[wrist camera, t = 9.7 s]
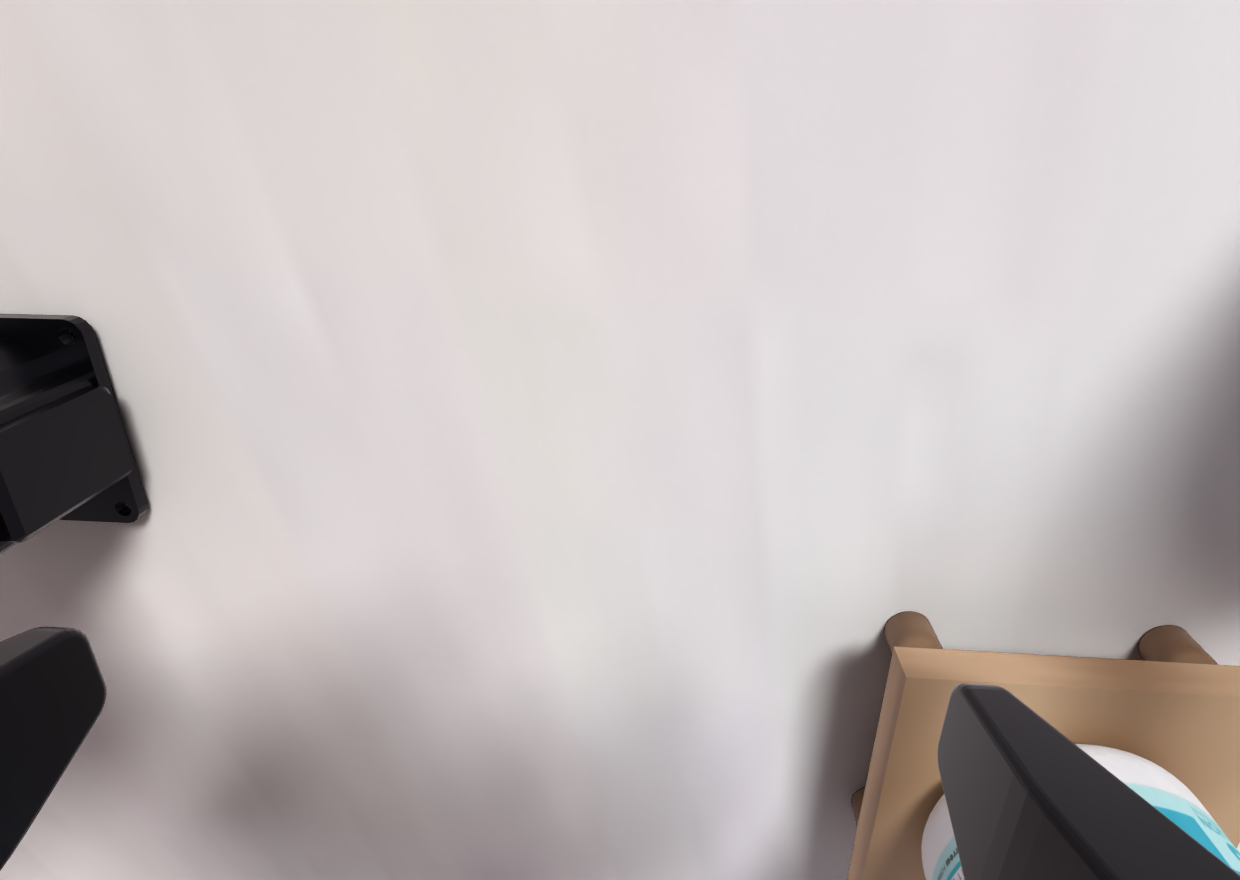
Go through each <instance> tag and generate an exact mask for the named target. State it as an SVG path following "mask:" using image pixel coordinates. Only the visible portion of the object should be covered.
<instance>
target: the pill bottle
mask: <svg viewBox="0 0 1240 880" xmlns="http://www.w3.org/2000/svg"><path fill="white" fill-rule="evenodd" d="M1076 745H1077V746H1078V747H1079V748H1081V749H1082V750H1083V751H1084V752H1086V753H1087V754H1088V755H1089V756H1091V757H1092V758H1093V759H1094V760H1096V761H1097V762H1098V763H1099V764H1101V765H1102V766H1103V767H1104V768H1106V769H1107V770H1108V771H1109V772H1111V773H1112V774H1113V775H1114V776H1116V777H1117V778H1118V779H1119V780H1121V781H1122V782H1123V783H1125V784H1126V785H1127V786H1128V787H1130V788H1131V789H1132V790H1133V791H1135V792H1136V793H1137V794H1138V795H1140V796H1141V797H1142V798H1143V799H1145V800H1146V801H1147V802H1148V803H1150V804H1151V805H1152V806H1153V807H1155V808H1156V809H1157V810H1158V811H1160V812H1161V813H1162V814H1163V815H1165V816H1166V817H1167V818H1168V819H1170V820H1171V821H1172V822H1174V823H1175V824H1176V825H1177V826H1179V827H1180V828H1181V829H1182V830H1184V831H1185V832H1186V833H1187V834H1189V835H1190V836H1191V837H1192V838H1194V839H1195V840H1196V841H1197V842H1199V843H1200V844H1201V845H1202V846H1204V847H1205V848H1206V849H1207V850H1209V851H1210V852H1211V853H1212V854H1214V855H1215V856H1216V857H1217V858H1219V859H1220V860H1221V861H1223V862H1224V863H1225V864H1226V865H1228V866H1229V867H1230V868H1231V869H1233V870H1234V871H1235V872H1236V873H1238V874H1239V875H1240V853H1239V851H1238V850H1237V849H1236V847H1235V846H1234V845H1233V844H1232V842H1231V841H1230V840H1229V838H1228V837H1227V836H1226V834H1225V833H1224V832H1223V831H1222V829H1221V828H1220V827H1219V825H1218V824H1217V823H1216V822H1215V820H1214V819H1213V818H1212V816H1211V815H1210V814H1209V812H1208V811H1207V810H1206V809H1205V807H1204V806H1203V805H1202V804H1201V802H1200V801H1199V800H1198V799H1197V797H1196V796H1195V795H1194V794H1193V793H1192V792H1191V791H1190V790H1189V789H1188V788H1187V787H1186V786H1185V785H1184V784H1183V783H1182V782H1181V781H1179V780H1178V779H1177V778H1176V777H1175V776H1173V775H1172V774H1171V773H1169V772H1168V771H1166V770H1165V769H1163V768H1162V767H1160V766H1158V765H1156V764H1155V763H1153V762H1151V761H1149V760H1147V759H1144V758H1142V757H1140V756H1137V755H1135V754H1133V753H1129V752H1126V751H1122V750H1119V749H1115V748H1110V747H1105V746H1099V745H1090V744H1076ZM921 851H922V864H923V869H924V874H925V878H926V880H964V875H963V871H962V867H961V863H960V858H959V854H958V850H957V845H956V841H955V837H954V833H953V828H952V824H951V820H950V816H949V811H948V807H947V803H946V799H945V794H943V796H942V797H941V798H940V799H939V801H938V802H937V804H936V805H935V807H934V808H933V810H932V812H931V813H930V815H929V818H928V820H927V823H926V825H925V828H924V832H923V836H922V845H921Z"/></svg>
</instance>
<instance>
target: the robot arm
mask: <svg viewBox="0 0 1240 880" xmlns="http://www.w3.org/2000/svg"><path fill="white" fill-rule="evenodd" d="M69 330H71V331H72V332H73V333H74V335H75V337H76V340H75V339H74V338H72V336H71V334H70V333H69ZM125 503H126V504H127V505H129V507H130V508H131V509H130V508H129V507H127V506H126V504H125ZM147 509H148V507H147V501H146V498H145V495H144V491H143V488H142V485H141V482H140V478H139V475H138V472H137V469H136V465H135V462H134V459H133V456H132V453H131V449H130V446H129V443H128V440H127V436H126V433H125V430H124V427H123V423H122V420H121V417H120V414H119V410H118V407H117V404H116V401H115V398H114V394H113V391H112V388H111V385H110V381H109V378H108V375H107V372H106V368H105V365H104V362H103V359H102V355H101V352H100V349H99V346H98V343H97V339H96V336H95V333H94V331H93V329H92V327H91V326H90V325H89V324H88V323H87V322H86V321H85V320H83V319H82V318H80V317H77V316H70V315H29V314H0V554H1V553H2V552H4V551H5V550H7V549H9V548H10V547H12V546H13V545H15V544H17V543H20V542H23V541H26V540H27V539H29V538H31V537H32V536H34V535H35V534H37V533H38V532H40V531H41V530H43V529H45V528H46V527H48V526H49V525H51V524H52V523H54V522H56V521H57V520H79V521H100V522H121V523H130V522H134V521H135V520H137V519H138V518H139V517H141V516H142V515H144V514H145V513H146V511H147ZM105 700H106V685H105V682H104V680H103V677H102V674H101V672H100V669H99V666H98V664H97V661H96V658H95V656H94V653H93V651H92V648H91V645H90V643H89V640H88V638H87V637H86V635H85V634H83V633H82V632H81V631H80V630H77V629H73V628H59V627H39V628H34V629H31V630H28V631H26V632H23V633H21V634H19V635H16V636H14V637H11V638H9V639H6V640H4V641H2V642H0V871H1V869H2V868H3V866H4V865H5V864H6V862H7V861H8V859H9V858H10V857H11V855H12V854H13V852H14V851H15V849H16V848H17V846H18V845H19V843H20V841H21V840H22V838H23V837H24V835H25V834H26V832H27V831H28V829H29V828H30V826H31V824H32V823H33V821H34V819H35V818H36V816H37V815H38V813H39V811H40V810H41V808H42V807H43V805H44V803H45V802H46V800H47V799H48V797H49V795H50V794H51V792H52V790H53V789H54V787H55V786H56V784H57V782H58V781H59V779H60V778H61V776H62V774H63V773H64V771H65V770H66V768H67V766H68V765H69V763H70V761H71V760H72V758H73V757H74V755H75V753H76V752H77V750H78V749H79V747H80V745H81V744H82V742H83V741H84V739H85V737H86V736H87V734H88V732H89V731H90V729H91V728H92V726H93V724H94V723H95V721H96V720H97V718H98V716H99V715H100V713H101V711H102V709H103V707H104V704H105ZM937 760H938V768H939V773H940V777H941V782H942V786H943V790H944V794H945V799H946V803H947V807H948V811H949V816H950V820H951V824H952V828H953V833H954V837H955V841H956V845H957V850H958V854H959V858H960V863H961V867H962V871H963V875H964V880H1240V875H1239V874H1238V873H1236V872H1235V871H1234V870H1233V869H1231V868H1230V867H1229V866H1228V865H1226V864H1225V863H1224V862H1223V861H1221V860H1220V859H1219V858H1217V857H1216V856H1215V855H1214V854H1212V853H1211V852H1210V851H1209V850H1207V849H1206V848H1205V847H1204V846H1202V845H1201V844H1200V843H1199V842H1197V841H1196V840H1195V839H1194V838H1192V837H1191V836H1190V835H1189V834H1187V833H1186V832H1185V831H1184V830H1182V829H1181V828H1180V827H1179V826H1177V825H1176V824H1175V823H1174V822H1172V821H1171V820H1170V819H1168V818H1167V817H1166V816H1165V815H1163V814H1162V813H1161V812H1160V811H1158V810H1157V809H1156V808H1155V807H1153V806H1152V805H1151V804H1150V803H1148V802H1147V801H1146V800H1145V799H1143V798H1142V797H1141V796H1140V795H1138V794H1137V793H1136V792H1135V791H1133V790H1132V789H1131V788H1130V787H1128V786H1127V785H1126V784H1125V783H1123V782H1122V781H1121V780H1119V779H1118V778H1117V777H1116V776H1114V775H1113V774H1112V773H1111V772H1109V771H1108V770H1107V769H1106V768H1104V767H1103V766H1102V765H1101V764H1099V763H1098V762H1097V761H1096V760H1094V759H1093V758H1092V757H1091V756H1089V755H1088V754H1087V753H1086V752H1084V751H1083V750H1082V749H1081V748H1079V747H1078V746H1077V745H1076V744H1074V743H1073V742H1072V741H1070V740H1069V739H1068V738H1067V737H1065V736H1064V735H1063V734H1062V733H1060V732H1059V731H1058V730H1057V729H1055V728H1054V727H1053V726H1052V725H1050V724H1049V723H1048V722H1047V721H1045V720H1044V719H1043V718H1042V717H1040V716H1039V715H1038V714H1037V713H1035V712H1034V711H1033V710H1032V709H1030V708H1029V707H1028V706H1027V705H1025V704H1024V703H1023V702H1021V701H1020V700H1019V699H1018V698H1016V697H1015V696H1014V695H1013V694H1011V693H1010V692H1009V691H1007V690H1006V689H1004V688H1002V687H1000V686H996V685H985V684H969V683H962V684H959V685H957V686H955V688H954V689H953V690H952V693H951V695H950V699H949V703H948V707H947V711H946V715H945V719H944V722H943V726H942V730H941V734H940V738H939V742H938V750H937Z"/></svg>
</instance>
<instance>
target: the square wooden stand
mask: <svg viewBox="0 0 1240 880" xmlns="http://www.w3.org/2000/svg"><path fill="white" fill-rule="evenodd" d="M884 633H885V637H886V639H887V642H888V645H889V647H890V650H891V652H892V659H891V664H890V669H889V673H888V678H887V683H886V688H885V693H884V698H883V703H882V708H881V713H880V718H879V723H878V728H877V733H876V737H875V742H874V747H873V752H872V757H871V762H870V767H869V772H868V777H867V782H866V787H865V788H862V789H860V790H858V791H857V792H856V793H855V794H854V795H853V796H852V799H851V803H852V807H853V811H854V815H855V820H856V824H857V831H856V836H855V841H854V846H853V851H852V856H851V861H850V866H849V870H848V875H847V880H926V878H925V874H924V869H923V864H922V851H921V845H922V836H923V832H924V828H925V825H926V823H927V820H928V818H929V815H930V813H931V812H932V810H933V808H934V807H935V805H936V804H937V802H938V801H939V799H940V798H941V797H942V796H943V794H944V790H943V786H942V782H941V777H940V773H939V768H938V760H937V750H938V742H939V738H940V734H941V730H942V726H943V722H944V719H945V715H946V711H947V707H948V703H949V699H950V695H951V693H952V690H953V689H954V688H955V686H957V685H959V684H962V683H969V684H985V685H996V686H1000V687H1002V688H1004V689H1006V690H1007V691H1009V692H1010V693H1011V694H1013V695H1014V696H1015V697H1016V698H1018V699H1019V700H1020V701H1021V702H1023V703H1024V704H1025V705H1027V706H1028V707H1029V708H1030V709H1032V710H1033V711H1034V712H1035V713H1037V714H1038V715H1039V716H1040V717H1042V718H1043V719H1044V720H1045V721H1047V722H1048V723H1049V724H1050V725H1052V726H1053V727H1054V728H1055V729H1057V730H1058V731H1059V732H1060V733H1062V734H1063V735H1064V736H1065V737H1067V738H1068V739H1069V740H1070V741H1072V742H1073V743H1074V744H1090V745H1099V746H1105V747H1110V748H1115V749H1119V750H1122V751H1126V752H1129V753H1133V754H1135V755H1137V756H1140V757H1142V758H1144V759H1147V760H1149V761H1151V762H1153V763H1155V764H1156V765H1158V766H1160V767H1162V768H1163V769H1165V770H1166V771H1168V772H1169V773H1171V774H1172V775H1173V776H1175V777H1176V778H1177V779H1178V780H1179V781H1181V782H1182V783H1183V784H1184V785H1185V786H1186V787H1187V788H1188V789H1189V790H1190V791H1191V792H1192V793H1193V794H1194V795H1195V796H1196V797H1197V799H1198V800H1199V801H1200V802H1201V804H1202V805H1203V806H1204V807H1205V809H1206V810H1207V811H1208V812H1209V814H1210V815H1211V816H1212V818H1213V819H1214V820H1215V822H1216V823H1217V824H1218V825H1219V827H1220V828H1221V829H1222V831H1223V832H1224V833H1225V834H1226V836H1227V837H1228V838H1229V840H1230V841H1231V842H1232V844H1233V845H1234V846H1235V847H1236V848H1237V846H1238V844H1239V842H1240V666H1229V665H1218V664H1217V663H1216V662H1215V661H1214V660H1213V658H1212V657H1211V656H1210V655H1209V654H1208V653H1207V652H1206V651H1205V650H1204V649H1203V648H1202V647H1201V646H1200V645H1199V644H1198V643H1197V642H1196V641H1195V640H1194V639H1193V638H1192V637H1191V636H1190V635H1189V634H1188V633H1187V632H1186V631H1185V630H1184V629H1182V628H1181V627H1178V626H1174V625H1165V626H1160V627H1157V628H1154V629H1152V630H1150V631H1149V632H1147V633H1146V634H1145V635H1144V636H1143V637H1142V639H1141V640H1140V642H1139V652H1140V654H1141V655H1142V657H1143V658H1144V659H1145V660H1146V661H1140V660H1122V659H1105V658H1087V657H1069V656H1052V655H1034V654H1016V653H999V652H981V651H963V650H945V649H943V648H942V646H941V644H940V642H939V640H938V638H937V636H936V634H935V632H934V630H933V628H932V626H931V624H930V622H929V620H928V619H927V618H926V617H925V616H924V615H922V614H920V613H917V612H911V611H908V612H902V613H899V614H896V615H895V616H893V617H892V618H891V619H889V621H888V622H887V623H886V625H885V629H884Z"/></svg>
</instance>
